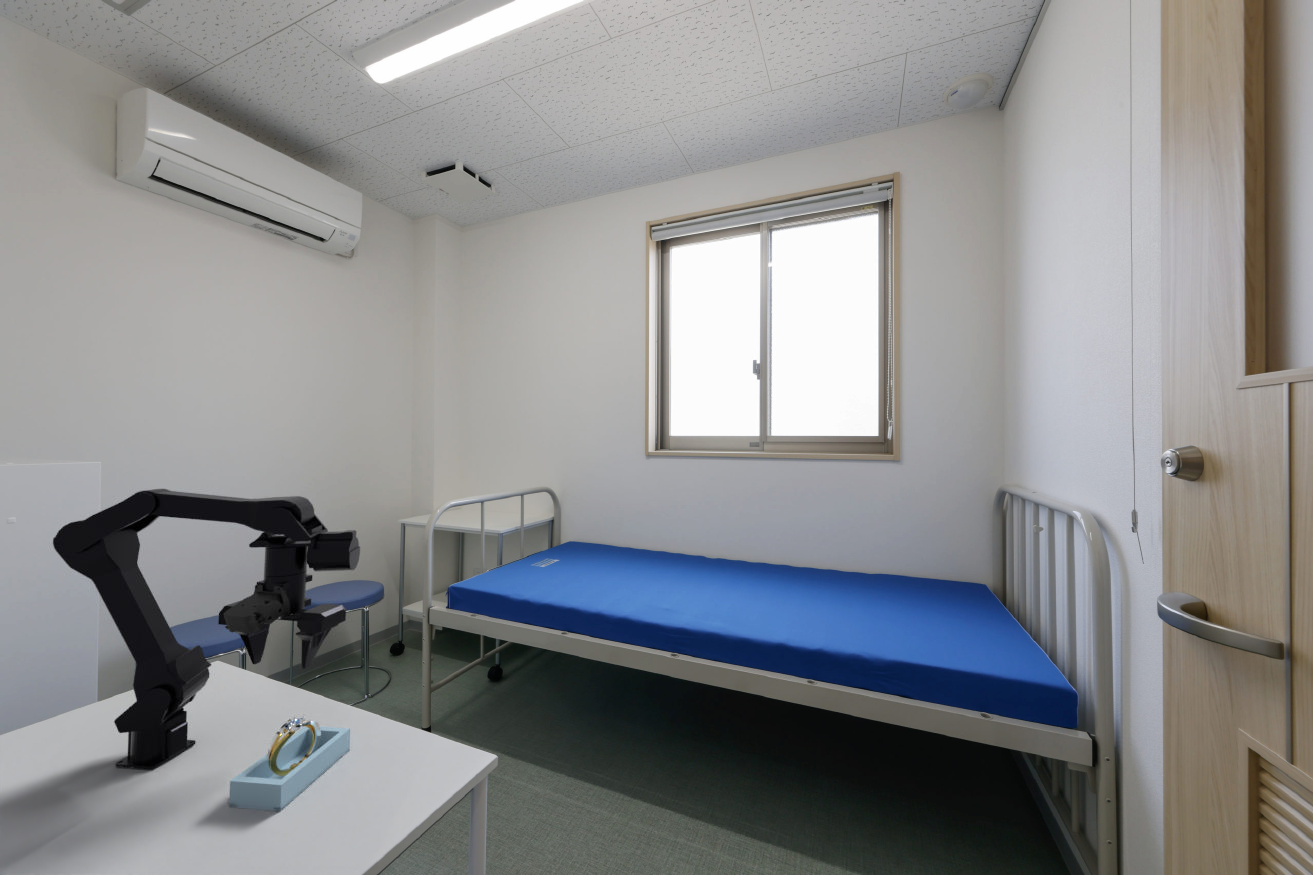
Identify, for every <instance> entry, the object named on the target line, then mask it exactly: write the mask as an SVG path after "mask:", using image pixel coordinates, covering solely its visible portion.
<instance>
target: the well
mask: <svg viewBox="0 0 1313 875" xmlns="http://www.w3.org/2000/svg"><path fill="white" fill-rule="evenodd" d="M319 726H320V730H321V739H320V743H319V745H318V748H317V750H316V751H315V752H314V753H313V754H312V755H310V756H309V757H308V758H307V759H306V760H304V761H303V762H302V763H301V764H299V765H298V766H297V767H296V768H294V769H293V770H292V771H291V772H289V773H288V774H287V775H285V776H279V775H276V774H275V773H273V772H272V771H271V770H270V769H269V767H268V765H267V754H265V755H264V756H263V757H261V758H260V759H258V760H257V761H256V762H254V763H253V764H252V765H250V766H249V767H247V768H246V769H245V770H242V772H241V773H239V774H238V775H237V776H234V777H233V778H232V779H231V780H230V781H229V797H228V798H229V802H228V804H229V805H228V807H229V808H239V809H250V810H263V811H271V812H273V811H276V812H281V811H283V810H284V809H285V808H286V807H287V806H288V805H289V804H290V803H291V802H293V801H294V800H295V799H296V798H297V797H299V796H300V795H301V794H302V793H303V792H304V791H306V789H307V788H309V787H310V786H311V785H312V784H313V783H315V781H317V780H318V779H319V778H320V777H322V775H323V774H325V773H326V772H327V771H328V770H329V769H330V768H332V767H333V766H334V764H336V763H337V762H338V761H339V760H340V759H342V758H343V757H344V756H345V755H346V754H347V753H349V752H350V750H351V728H349V727H335V726H333V727H332V726H321V725H319ZM311 743H312V733H311V731H310V729H309V728H308V727H305V726H303V727H302V728H300V729H299V730H298V732H297V731H296V732H295V733H294V734H293V735H292V736H291V737H290V738H289V739H288V741H287V742H286V743H285V744H284V745H283V747H282V748H281V750H280V752H279V753H278V756H277V759H276V765H277V767H278V768H279V769H287V768H290V766H291V765H292V764H294V763H296V764H297V763H298V762H299V761H301V760H302V759H303V758H304V756H305V755H306V754H307V752H308V751H309V749H310V746H311Z"/></svg>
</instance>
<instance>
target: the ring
mask: <svg viewBox="0 0 1313 875" xmlns="http://www.w3.org/2000/svg"><path fill="white" fill-rule="evenodd" d="M320 726H321V725H319V723H318V722H317V721H316V720H314V719H306V714H303V715H302V717H300V718H296V716H295V715H294V716H292V718H289V719H288V720H287V721H286V722H284V724H282V725H281V727H280V728H279V729H278V731H276V733H275V735H274V736H273V738H272V740H271V743H269V744H270V745H269V748H268V752H267V754H266V755H267V765H268V767H269V769H270V770H271V771H272V772H273V773H275V774H276V775H279V776H285V775H287V774H288V773H289V772H291V771H292V770H293V769H294V768H296V767H297V766H298V765H299V764H301V763H302V762H303V761H304V760H306V759H307V758H308V757H309V756H310V755H312V754H313V753H314V752H315V751H316V750H317V748H318V745H319V743H320V739H321V730H320ZM304 727H308V728H309V729H310V731H311V733H312V743H311V746H310V749H309V751H308V752H307V754H306V755H305V756H304V758H303V759H302V760H301V761H299V762H298V763H297V764H296V763H294V764H292V765H291V766H290V768H287V769H279V768H278V767H277V765H276V759H277V756H278V753H279V752H280V750H281V748H282V747H283V745H284V744H285V743H286V742H287V741H288V739H289V738H290V737H292V736H293V735H294V734H296V732H297V731H299V730H301V729H303V728H304ZM283 734H285V735H284V736H283ZM281 737H282V738H281Z"/></svg>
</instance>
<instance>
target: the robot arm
mask: <svg viewBox="0 0 1313 875" xmlns="http://www.w3.org/2000/svg"><path fill="white" fill-rule="evenodd" d="M160 517H163V518H175V519H177V518H178V519H187V520H198V521H209V522H210V521H211V522H221V523H234V524H238V525H242V526H245V527H248V528H250V529H252V530H255V531H258V532H261V534H260V535H259V536H258V537H257V538H256V539H255V540H253V541H251V542H250V543H249V544H248V546H249V548H252V549H254V548H256V549H257V548H264V564H263V565H264V566H263V580H260V581H256V584H255V585H254V591H253V594H251V595H250V596H248V597H247V596H246V597H244V598H243V599H242V600H239V601H235V602H232V603H229V604H226V605H224V606H223V607H222V608H221V610H220V611H219V612H218V624H217V625H222V626H224V628H225V629H226V630H228V631H229V632H230V633H236V634H238V635H239V636H240V638H241V640H242V642H243V644H244V646H245V649H246V650H247V653H248V656H249V659H250V661H251V664H252V665H258V664H260V663H261V661H262V658H263V656H264V651H265V649H266V644H267V639H268V634H269V631H270V630H269V629H270V626H271V624H273V623H274V622H276V621H287V622H288V621H289V622H296V627H297V628H298V630H299V631H298V632H296V633H295V635H296V636H297V637H298V638H299V639H301V640H300V641H301V658H300V659H301V669H302V670H306V669H308V668H310V667H311V665H312V663H313V661H314V660H315V657H316V655H317V654H318V653H319V652H318V651H319V650H320V649H321V646H322V644H323V643H324V641H325V639H326V638H327V636H328V635H329V634H330V632H331V631H332V629H334V628H335V627H337V626H339V624H342V623H343V622H346V616H347V610H346V607H345V606H344V605H342V604H335V603H322V604H319V605H316V606H314V607H312V608H310V609H309V608H308V609H305V608H306V607H308V606H311V605H312V598H309V597H306V595H307V594H306V593H307V592H306V591H307V583H310V582H312V581H313V574H308V573H307V571H308V570H307V569H312V570H313V571H314V572H337V571H338V572H341V571H342V572H343V571H355V569H356V568H357V566H358V564H359V560H360V554H361V546H360V543H359V538H358V537H357V530H356V529H353V530H351V529H348V530H344V531H329V530H328V528H327V527H326V526H325V524H324V523H323V522H322V521H321V520H320V518H319V517H318V516H317V515H316V514H315V508H314V504H313V503H311V501H310V500H309V499H308V498H307V497H304V496H300V495H299V496H298V495H291V496H274V497H264V498H262V497H261V498H247V497H246V498H244V497H235V496H225V495H224V496H223V495H218V494H217V495H215V494H205V493H196V492H187V491H186V492H185V491H176V490H175V491H174V490H169V489H167V488H154V489H147V490H146V489H145V490H139V491H137V492H135V493H133V494H132V495H130V496H129V497H127V498H125V499H124V500H122V501H120V502H118V503H116V504H114V505H112V506H110V507H107V508H105V509H103V510H101V511H98V512H97V513H93V514H92V515H90V516H89V517H87V518H85V519H82V520H77V521H72V522H69V523H67V524H65V525H63V526H62V527H61V528H60V529H59V530H58V531H57V533H56V534H55V537H53V539H52V545H53V548H54V551H55V552H56V553H57V555H59V557H60V558H61V559H62V560H63V561H64V562H65V564H66V565H67V567H69V568H70V569H72V570H73V571H75V572H77V573H79V574H80V575H82V576H83V577H86V578H87V579H89V580H90V581H92V583H93V584H94V586H95V588H96V590H97V592H98V594H99V596H100V597H101V600H102V602H103V604H104V606H105V607H106V608H107V610H108V613H109V615H110V616H111V618H112V620H113V623H114V624H115V626H116V628H117V630H118V632H119V633H120V636H121V638H122V639H123V641H124V643H125V645H126V647H127V649H128V651H129V653H130V655H131V657H132V658H133V660H134V663H135V667H134V668H135V669H134V674H133V675H134V676H133V682H132V688H133V692H134V696H135V699H136V701H135V702H134V703H133V704H131V706H129V707H128V708H126V710H125V711H123V712H122V713H121V714H120V715H119V716H118V717H116V718H115V719H114V721H113V722H114V725H115V727H116V729H117V732H118V733H119V734H124V733H127V734H128V738H127V756H125V757H124V758H122V759H120V760H118V761H116V762H115V767H117V768H125V769H126V768H127V769H137V770H138V769H139V770H155V769H157V768H158V767H159V766H161V765H162V764H165V763H167V762H168V761H170V760H172V759H173V758H174V757H176V756H178V755H179V754H181V753H183V752H185V751H187V750H188V749H189V748H191V747H193V746H194V745H196V739H195V740H194V739H188V729H189V728H188V727H189V722H188V721H187V719H188V718H187V716H188V715H187V714H188V712H187V710H184V707H185V706H186V705H188V704H189V703H191V702H192V701H194V699H195V698H196V696H197V694H198V693H199V692H200V691H201V690H202V689H204V687H205V686H206V684H207V683H208V680H209V678H210V670H209V668H210V667H212V663H211V662H210V661H208V660H207V658H206V657H205V655H204V651H203V648H202V646H201V645H196V646H194V647H192V648H191V649H189V648H188V647H186V646H184V645H182V644H180V643H179V642H178V640H177V639H176V637H175V635H174V633H173V631H172V629H171V627H170V626H169V622H168V621H167V619H166V617H165V616H164V614H163V612H162V610H161V608H160V606H159V604H158V602H157V600H156V599H155V596H154V594H153V592H152V590H151V588H150V586H149V585H148V583H147V581H146V579H145V577H144V575H143V573H142V571H141V569H140V567H139V565H138V561H139V554H140V548H141V543H140V539H139V535H138V533H140V532H141V531H143V530H145V529H146V528H148V527H149V526H151V525H152V524H154V522H155V521H156V520H157V519H159V518H160Z"/></svg>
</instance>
